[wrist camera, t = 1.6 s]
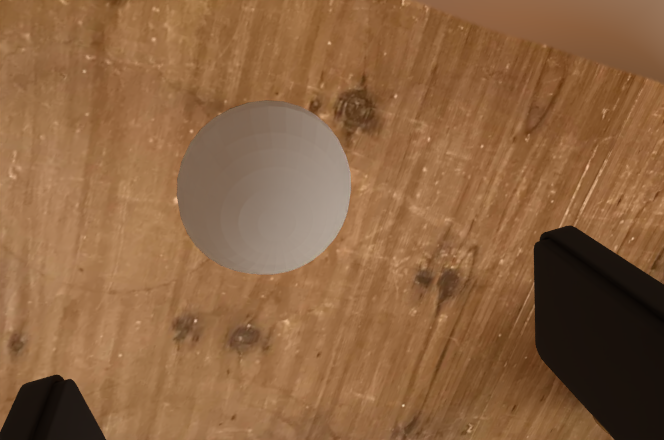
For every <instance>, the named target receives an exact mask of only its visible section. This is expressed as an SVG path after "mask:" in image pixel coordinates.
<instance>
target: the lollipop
mask: <svg viewBox="0 0 664 440" xmlns="http://www.w3.org/2000/svg"><path fill="white" fill-rule="evenodd" d="M350 193H351V174H350V169H349V165H348V160H347V157H346V155H345V153H344V151H343V149H342V147H341V144H340V142H339V140H338V138H337V137H336V136H335V134H334V133H333V132H332V130H331V129H330V128H329V126H328V125H327V124H326V123H325V122H323V121H322V120H321V119H320V118H319V117H318V116H316V115H315V114H313V113H311V112H310V111H308V110H306V109H304V108H302V107H300V106H297V105H293V104H290V103H286V102H281V101H268V100H265V101H257V102H250V103H246V104H243V105H240V106H237V107H234V108H231V109H229V110H227V111H225V112H224V113H222V114H220V115H218V116H216V117H215V118H213V119H212V120H211V121H210V122H209V123H207V124H206V125H205V126H204V127H203V128H202V129H201V130H200V131H199V132H198V133H197V135H196V136H195V137H194V139H193V140H192V141H191V143H190V145H189V147H188V149H187V151H186V153H185V155H184V157H183V160H182V162H181V166H180V170H179V174H178V179H177V199H178V204H179V210H180V215H181V219H182V222H183V224H184V226H185V229H186V231H187V234H188V235H189V236H190V238H191V239H192V241H193V242H194V244H195V245H196V247H198V248H199V249H200V250H201V251H202V252H203V253H204V254H205V255H206V256H207V257H208V258H210V259H211V260H213V261H215V262H216V263H218V264H220V265H221V266H224V267H226V268H229V269H232V270H234V271H238V272H244V273H250V274H278V273H284V272H288V271H291V270H294V269H296V268H299V267H301V266H303V265H305V264H307V263H309V262H310V261H312V260H313V259H315V258H316V257H317V256H318V255H320V254H321V253H322V252H323V251H324V250H325V249H326V248H327V247H328V246H329V245H330V243H331V242H332V241H333V240H334V239H335V237H336V236H337V234H338V232H339V231H340V229H341V227H342V226H343V223H344V220H345V218H346V215H347V212H348V206H349V200H350Z"/></svg>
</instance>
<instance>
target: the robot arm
mask: <svg viewBox="0 0 664 440" xmlns="http://www.w3.org/2000/svg"><path fill="white" fill-rule="evenodd" d="M534 287H535V343H536V348H537V351H538V353H539V355H540V357H541V359H542V360H543V361H544V362H545V364H546V365H547V366H548V367H549V368H550V369H551V370H552V371H553V372H554V373H555V375H556V376H557V377H558V378H559V379H560V380H561V381H562V382H563V383H564V384H565V386H566V387H567V388H568V389H569V390H570V391H571V392H572V393H573V394H574V395H575V397H576V398H577V399H578V400H579V401H580V402H581V403H582V404H583V405H584V406H585V408H586V409H587V410H588V411H589V412H590V413H591V414H592V415H593V416H594V417H595V419H596V420H597V421H598V422H599V423H600V424H601V425H602V426H603V427H604V428H605V430H606V431H607V432H608V433H609V434H610V435H611V436H612V437H613V438H614V440H664V285H663V284H662V283H660V282H659V281H657V280H656V279H654V278H653V277H651V276H650V275H648V274H646V273H645V272H643V271H642V270H640V269H639V268H637V267H636V266H634V265H633V264H631V263H629V262H628V261H626V260H625V259H623V258H622V257H620V256H619V255H617V254H616V253H614V252H612V251H611V250H609V249H608V248H606V247H605V246H603V245H602V244H600V243H599V242H597V241H595V240H594V239H592V238H591V237H589V236H588V235H586V234H585V233H583V232H582V231H580V230H578V229H577V228H575V227H573V226H565V227H562V228H558V229H555V230H551V231H548V232H545V233H543V234H542V235H541V237H540V241H539V242H537V243H535V245H534ZM0 440H106V439H105V437H104V435H103V433H102V431H101V429H100V428H99V426H98V424H97V422H96V420H95V418H94V416H93V415H92V413H91V411H90V409H89V407H88V405H87V404H86V402H85V400H84V398H83V396H82V394H81V393H80V391H79V389H78V387H77V385H76V384H75V382H74V381H73V380H72V379H67V380H64V379H63V378H62V377H61V376H60V375H53V376H50V377H46V378H43V379H39V380H36V381H32V382H29V383H26V384H24V385H22V387H21V388H20V390H19V392H18V394H17V397H16V399H15V401H14V403H13V405H12V408H11V410H10V412H9V414H8V416H7V419H6V421H5V423H4V425H3V427H2V429H1V432H0Z"/></svg>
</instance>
